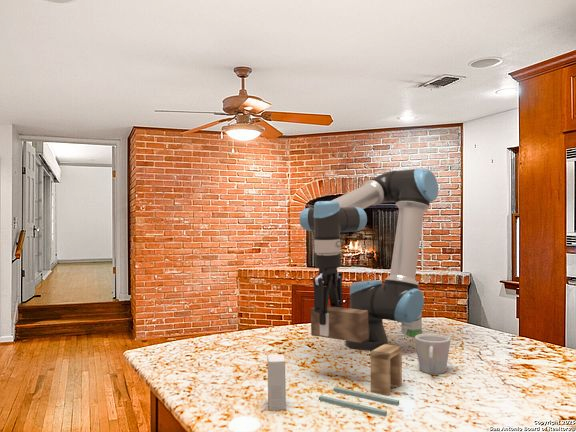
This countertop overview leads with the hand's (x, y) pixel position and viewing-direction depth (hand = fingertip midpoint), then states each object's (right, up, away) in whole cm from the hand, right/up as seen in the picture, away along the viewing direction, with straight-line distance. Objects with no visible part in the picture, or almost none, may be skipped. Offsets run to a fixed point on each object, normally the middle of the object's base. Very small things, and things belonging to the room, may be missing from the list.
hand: (329, 333), depth 144 cm
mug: (+31, -13, +3) cm, 33 cm away
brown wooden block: (+3, -1, -2) cm, 3 cm away
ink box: (+36, -12, +50) cm, 63 cm away
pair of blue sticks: (+6, -13, -20) cm, 24 cm away
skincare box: (-15, -13, -22) cm, 29 cm away
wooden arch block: (+15, -13, -10) cm, 22 cm away
